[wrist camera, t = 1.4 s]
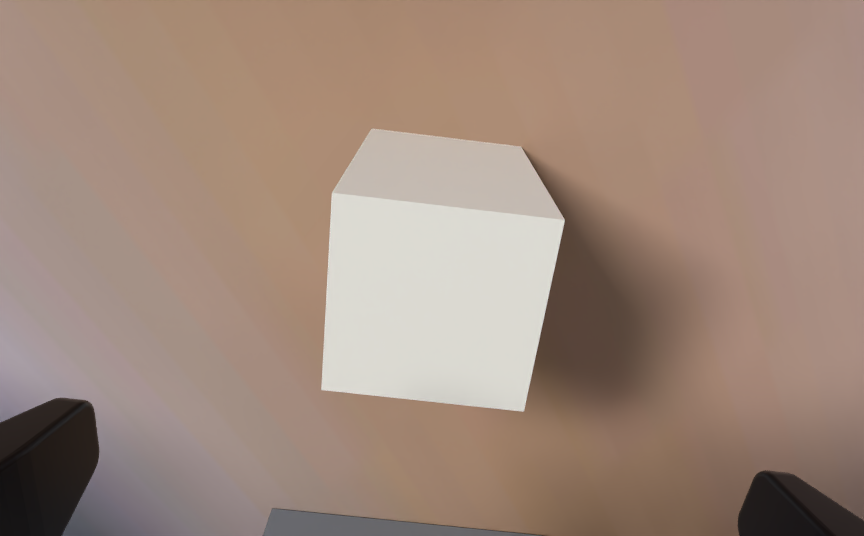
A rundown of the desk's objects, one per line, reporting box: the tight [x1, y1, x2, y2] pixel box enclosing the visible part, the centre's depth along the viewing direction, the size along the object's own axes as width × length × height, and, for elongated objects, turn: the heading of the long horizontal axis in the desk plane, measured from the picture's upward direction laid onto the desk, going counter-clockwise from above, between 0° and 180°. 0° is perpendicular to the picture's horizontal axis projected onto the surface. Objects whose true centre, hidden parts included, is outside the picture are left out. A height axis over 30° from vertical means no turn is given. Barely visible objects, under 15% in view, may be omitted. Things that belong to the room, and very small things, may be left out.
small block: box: [321, 129, 565, 412], centre depth 16 cm, size 4×4×7 cm
